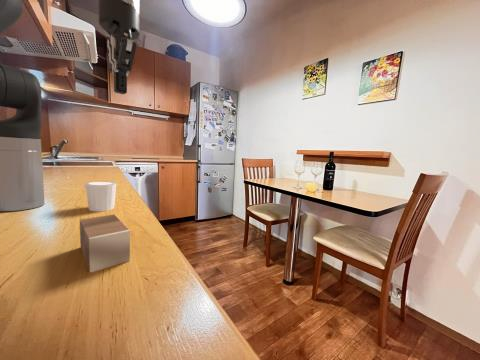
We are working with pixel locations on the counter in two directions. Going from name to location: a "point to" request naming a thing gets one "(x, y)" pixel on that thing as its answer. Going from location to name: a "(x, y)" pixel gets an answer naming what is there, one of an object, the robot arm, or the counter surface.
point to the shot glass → (100, 195)
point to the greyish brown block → (104, 242)
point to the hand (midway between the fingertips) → (120, 93)
